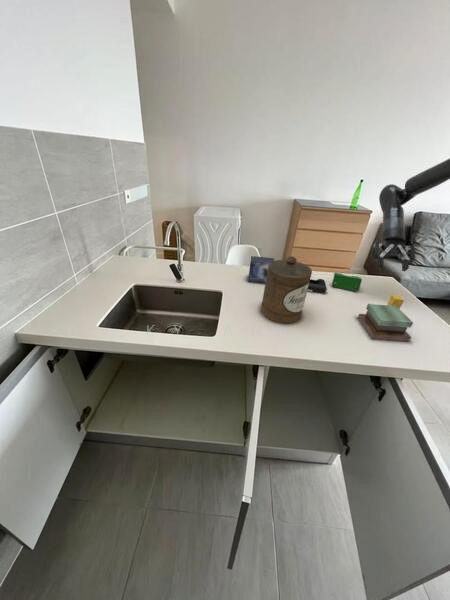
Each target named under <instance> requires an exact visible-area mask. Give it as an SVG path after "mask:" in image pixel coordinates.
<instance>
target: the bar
mask: <svg viewBox="0 0 450 600" xmlns="http://www.w3.org/2000/svg"><path fill="white" fill-rule="evenodd" d="M404 301H405V299H404V298H403V297H402V296H401V295H395V294H391V296H390V298H389V300H388V302H387V304H386V305H390V306H397V307H398V308H399V309H400V310H401V307H402V305H403V303H404Z"/></svg>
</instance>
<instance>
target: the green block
mask: <svg viewBox="0 0 450 600" xmlns="http://www.w3.org/2000/svg"><path fill="white" fill-rule="evenodd" d="M362 281H363V279H362V278H361V277H360V276H355V275H352V276H351V275H345V274H343V273H339V272H334V274H333V278H332V281H331V284H332V286H333V287H334V288H339V289H344V290H348V291H353V292H358V291H359V290H360V287H361V285H362Z"/></svg>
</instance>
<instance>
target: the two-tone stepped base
mask: <svg viewBox="0 0 450 600" xmlns="http://www.w3.org/2000/svg"><path fill="white" fill-rule="evenodd" d="M365 309H366V310H367V311H366V313H359V314H358V315H357V319H358V321H359V322H360V324H361V325H362V327H363V328H364V330H365V331H366V332H367V334H368V335H369V337H370V338H371V339H372V340H380V341H395V342H410V340H411V339H412V336H411V335H410V334H409V333H408V332H407V329H410V328H412V326H413V324H414V322H413V320H411V319H410V318H409V317H408V316H407V315H406V314H405V312H403V311H402V310H401V308H400V309H399V308H398V307H397V306H390V305H387V304H375V303H367V306H366V307H365Z"/></svg>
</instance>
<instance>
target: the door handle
mask: <svg viewBox="0 0 450 600" xmlns="http://www.w3.org/2000/svg"><path fill="white" fill-rule="evenodd" d="M327 290H328V289H327V285H326V281H325V279H323V278H317V279H313V278H312V279H311V278H310V281H309V286H308V290H307V292H311V293H312V292H318V293H326V292H327Z"/></svg>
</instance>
